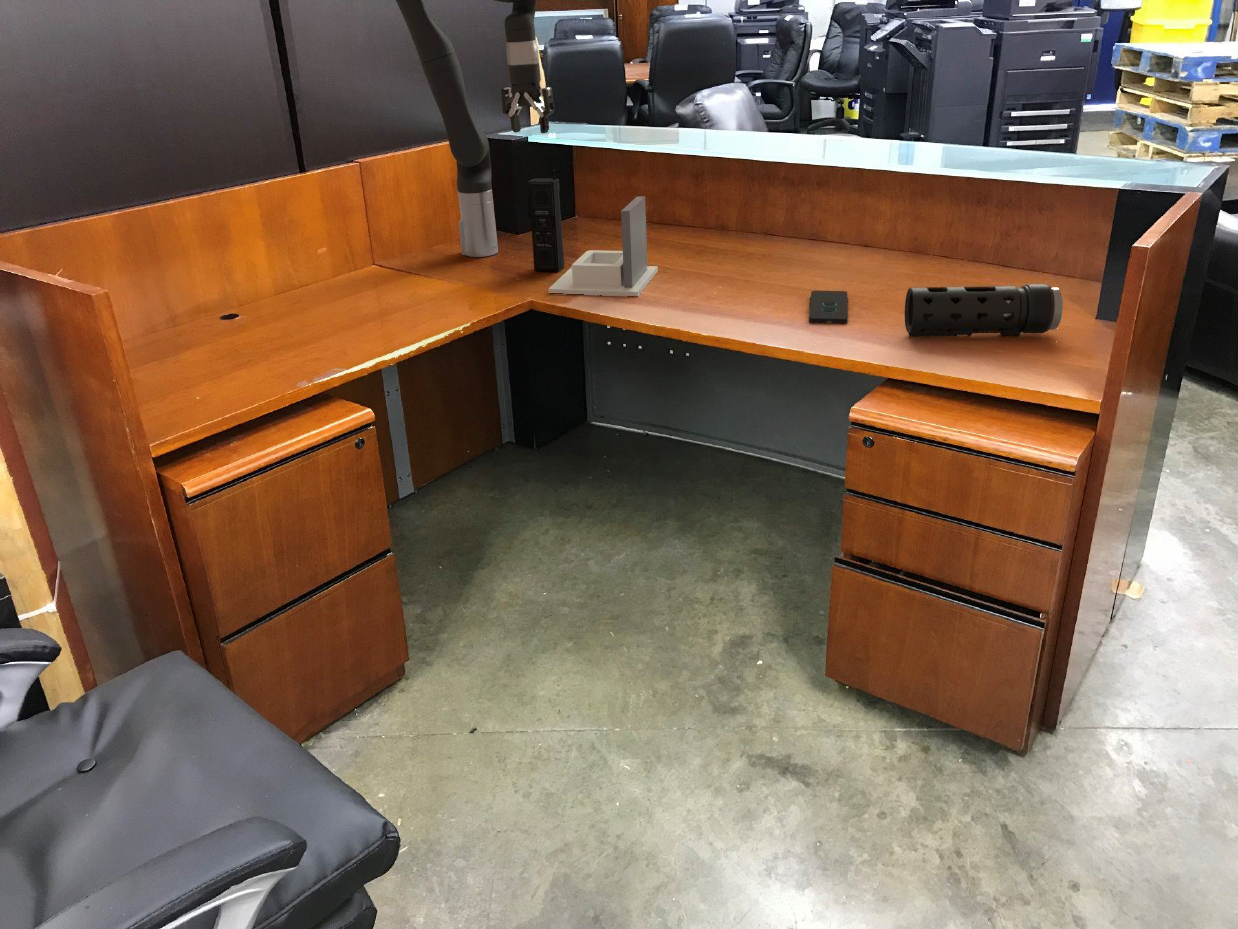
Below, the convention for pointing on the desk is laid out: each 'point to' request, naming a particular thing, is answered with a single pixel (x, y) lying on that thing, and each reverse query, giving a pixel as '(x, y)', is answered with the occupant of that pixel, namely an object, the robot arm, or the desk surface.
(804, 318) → the desk surface
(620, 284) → the docking stand
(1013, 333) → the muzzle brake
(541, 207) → the portable radio
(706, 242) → the desk surface
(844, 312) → the smart home device
